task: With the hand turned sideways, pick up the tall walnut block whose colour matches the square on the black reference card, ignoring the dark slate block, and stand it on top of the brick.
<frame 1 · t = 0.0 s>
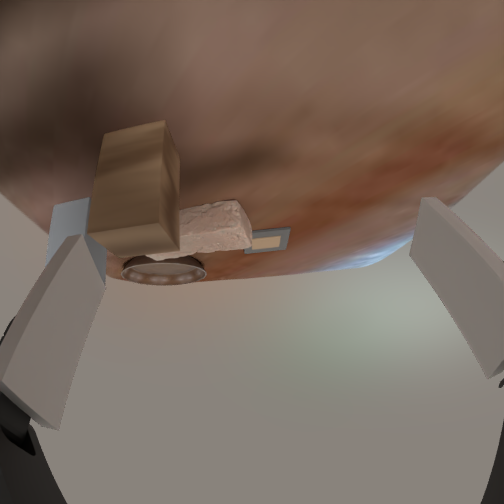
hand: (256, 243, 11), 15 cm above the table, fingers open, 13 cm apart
plant saucer: (163, 261, 60), on the table
reference card: (265, 240, 54), on the table
brick: (191, 218, 43), on the table
slate block: (81, 211, 36), on the table
walnut block: (143, 146, 26), on the table
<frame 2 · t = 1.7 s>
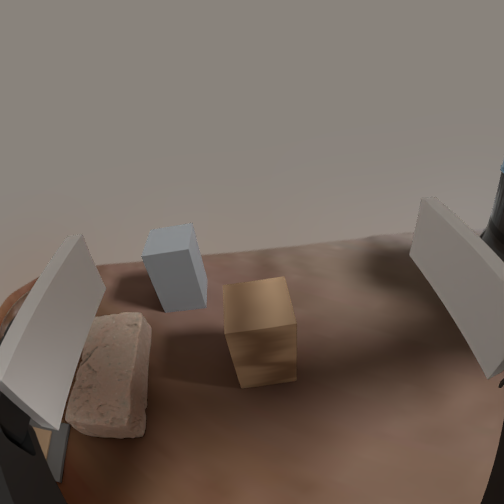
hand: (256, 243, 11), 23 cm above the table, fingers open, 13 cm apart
plant saucer: (44, 327, 40), on the table
reference card: (37, 446, 23), on the table
brick: (120, 381, 32), on the table
slate block: (186, 295, 43), on the table
walnut block: (265, 362, 32), on the table
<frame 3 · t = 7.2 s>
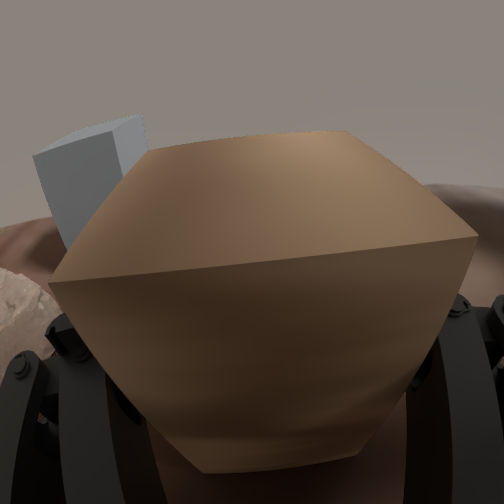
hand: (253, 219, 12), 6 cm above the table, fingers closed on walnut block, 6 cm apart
slate block: (125, 254, 22), on the table
walnut block: (273, 405, 11), on the table, touching gripper
when the fingers open (12 cm above the table, at t = 11.8 s): walnut block drops 2 cm, resting on brick.
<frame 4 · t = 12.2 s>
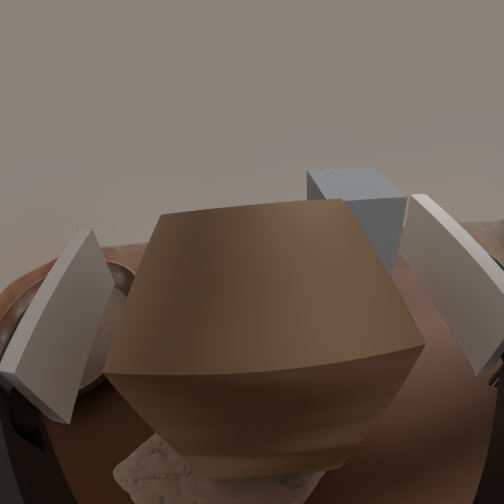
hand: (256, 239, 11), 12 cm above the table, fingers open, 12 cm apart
plant saucer: (71, 340, 24), on the table
brick: (268, 442, 16), on the table, touching walnut block
slate block: (343, 283, 27), on the table
walnut block: (270, 422, 13), point 4 cm above the table, touching brick
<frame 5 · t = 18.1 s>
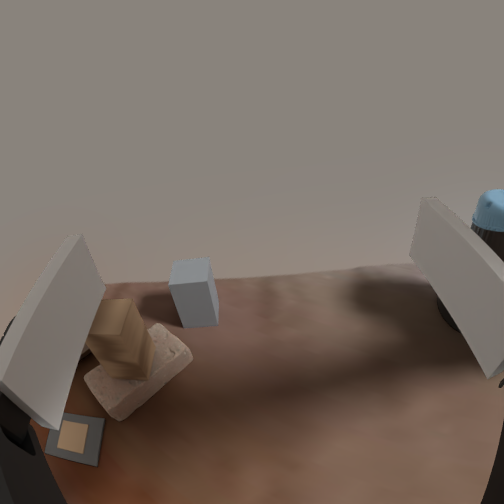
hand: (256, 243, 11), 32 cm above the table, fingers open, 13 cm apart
reference card: (74, 437, 31), on the table
brick: (143, 378, 42), on the table, touching walnut block
slate block: (201, 314, 52), on the table
walnut block: (133, 362, 39), point 4 cm above the table, touching brick
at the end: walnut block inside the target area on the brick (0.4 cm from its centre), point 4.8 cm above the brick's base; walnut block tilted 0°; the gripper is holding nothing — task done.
